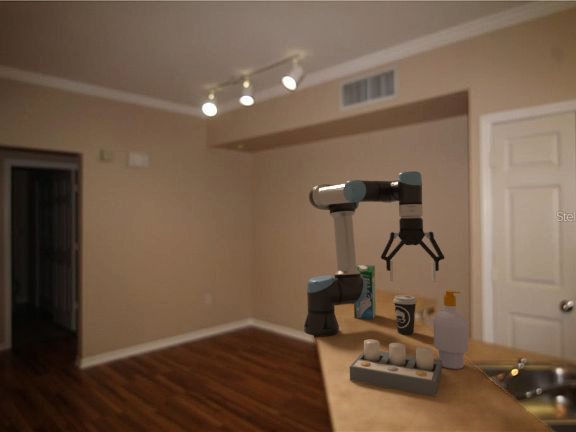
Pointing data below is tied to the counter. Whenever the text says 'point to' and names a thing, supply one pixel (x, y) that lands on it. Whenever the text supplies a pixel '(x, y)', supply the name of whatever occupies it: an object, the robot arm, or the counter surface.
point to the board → (397, 374)
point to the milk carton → (368, 305)
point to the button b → (397, 354)
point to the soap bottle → (451, 333)
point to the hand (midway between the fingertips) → (412, 280)
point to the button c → (424, 358)
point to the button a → (371, 350)
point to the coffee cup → (405, 313)
